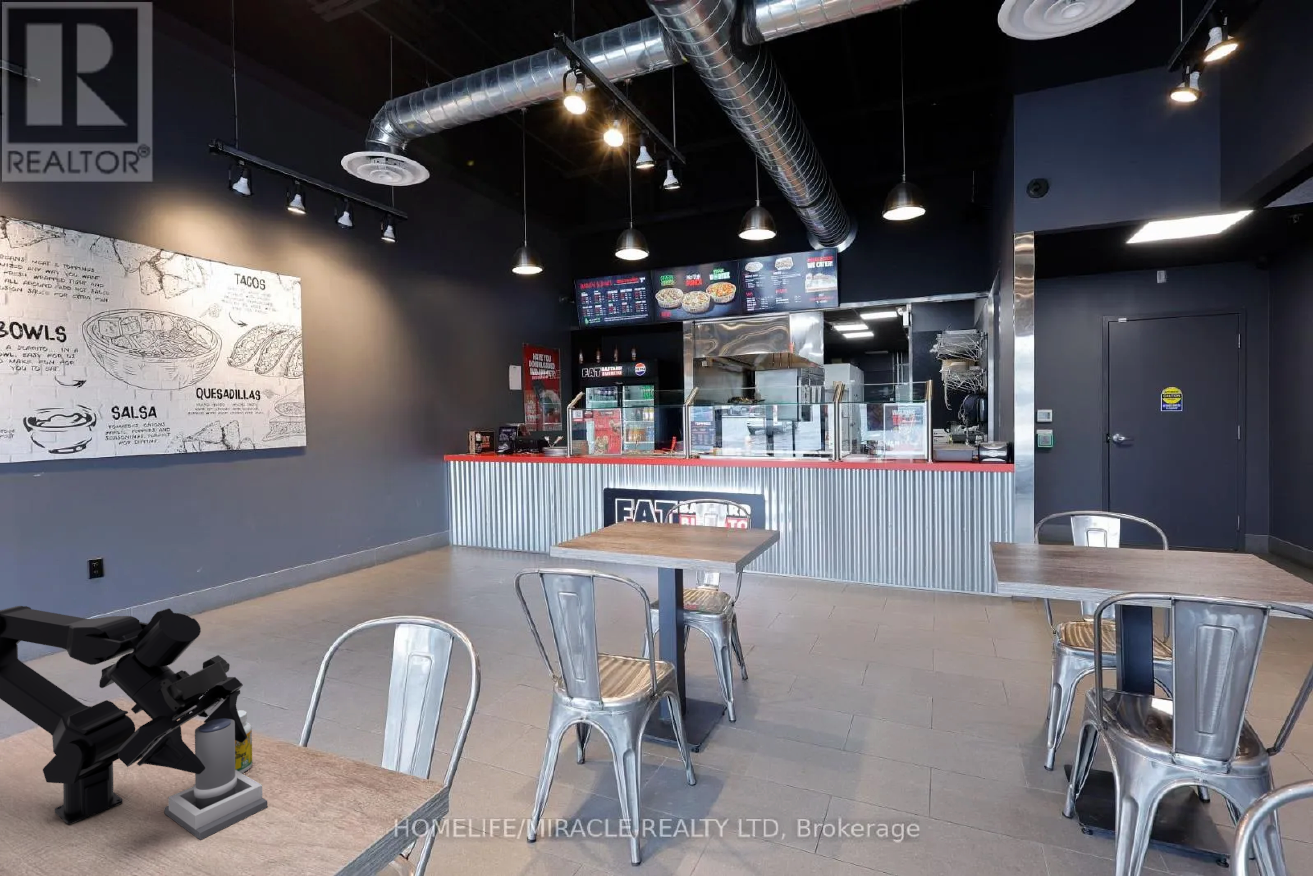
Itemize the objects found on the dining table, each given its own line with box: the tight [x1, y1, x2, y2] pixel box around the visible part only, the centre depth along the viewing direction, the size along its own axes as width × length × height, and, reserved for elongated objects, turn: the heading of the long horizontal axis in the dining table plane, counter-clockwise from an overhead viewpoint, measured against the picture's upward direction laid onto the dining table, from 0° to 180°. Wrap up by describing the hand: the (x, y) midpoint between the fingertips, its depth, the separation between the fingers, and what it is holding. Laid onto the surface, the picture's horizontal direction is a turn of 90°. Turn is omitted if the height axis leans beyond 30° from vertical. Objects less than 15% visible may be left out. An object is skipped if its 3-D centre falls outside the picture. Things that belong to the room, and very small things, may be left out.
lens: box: [193, 718, 237, 810], centre depth 94 cm, size 5×5×12 cm
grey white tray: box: [164, 770, 268, 841], centre depth 94 cm, size 12×9×3 cm
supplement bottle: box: [235, 709, 253, 774], centre depth 106 cm, size 5×5×10 cm
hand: (224, 755), depth 94 cm, fingers open, 9 cm apart
